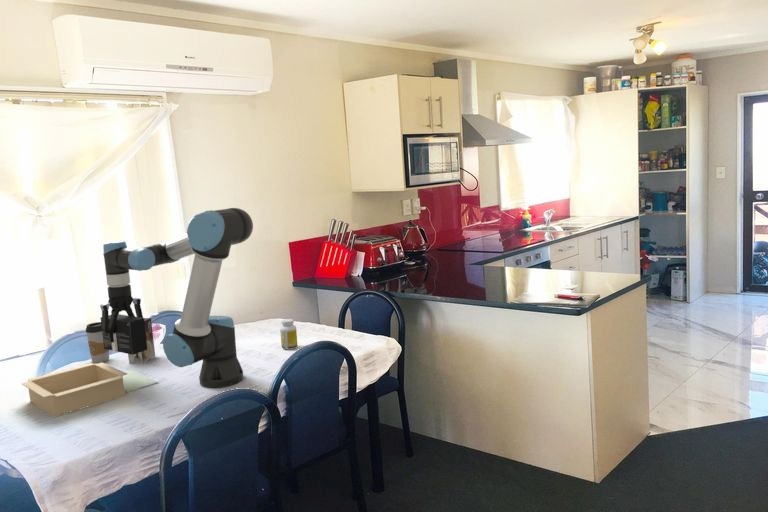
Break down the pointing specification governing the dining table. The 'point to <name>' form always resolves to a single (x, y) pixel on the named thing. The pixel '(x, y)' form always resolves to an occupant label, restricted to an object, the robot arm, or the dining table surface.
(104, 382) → the tan open rectangular tray
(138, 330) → the box
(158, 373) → the dining table surface
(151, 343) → the coffee box
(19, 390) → the dining table surface
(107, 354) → the coffee cup
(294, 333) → the pill bottle
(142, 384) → the mat
